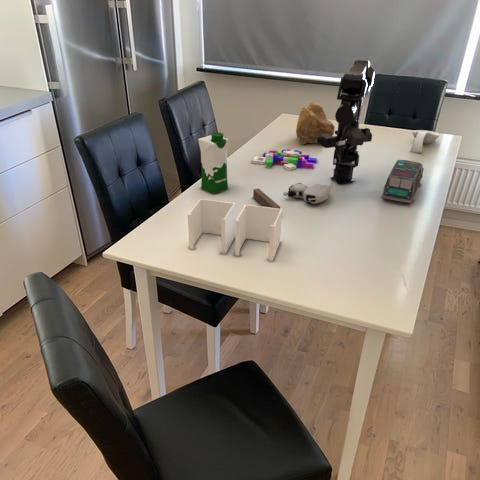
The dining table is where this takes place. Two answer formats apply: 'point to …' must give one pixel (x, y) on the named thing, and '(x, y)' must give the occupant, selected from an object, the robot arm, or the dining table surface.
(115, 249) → the dining table surface
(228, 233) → the storage bins
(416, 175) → the toy van
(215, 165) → the milk carton
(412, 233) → the dining table surface
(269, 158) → the building block set
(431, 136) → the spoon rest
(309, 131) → the rough brown rock
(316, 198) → the robot toy
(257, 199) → the walnut kerb
